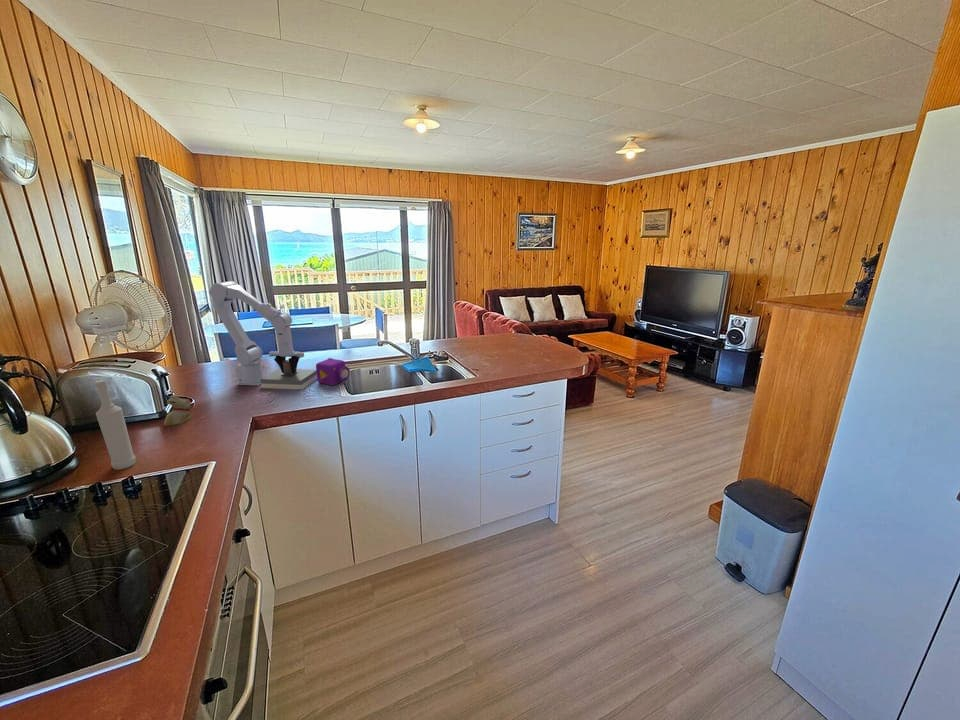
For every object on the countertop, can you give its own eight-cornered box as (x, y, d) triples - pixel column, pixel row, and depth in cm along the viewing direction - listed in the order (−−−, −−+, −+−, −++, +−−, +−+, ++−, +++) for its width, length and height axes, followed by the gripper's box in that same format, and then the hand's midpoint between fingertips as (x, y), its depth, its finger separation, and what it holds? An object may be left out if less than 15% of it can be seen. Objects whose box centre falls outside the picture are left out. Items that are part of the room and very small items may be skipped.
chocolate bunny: (192, 421, 137) (186, 395, 134) (163, 427, 133) (156, 399, 130) (193, 416, 141) (187, 389, 138) (165, 421, 137) (159, 394, 134)
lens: (282, 377, 171) (280, 362, 169) (287, 374, 175) (285, 359, 173) (291, 378, 171) (289, 362, 169) (296, 374, 175) (294, 359, 173)
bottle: (122, 460, 113) (97, 377, 106) (141, 459, 114) (118, 377, 106) (107, 470, 108) (80, 384, 101) (127, 469, 109) (102, 384, 101)
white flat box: (261, 387, 168) (260, 379, 167) (280, 376, 181) (278, 368, 180) (302, 389, 166) (301, 380, 165) (318, 378, 180) (317, 369, 179)
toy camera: (343, 387, 169) (341, 365, 166) (314, 385, 172) (311, 363, 169) (355, 379, 179) (353, 358, 176) (328, 377, 182) (326, 356, 179)
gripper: (263, 344, 165) (267, 375, 169) (296, 345, 164) (300, 376, 168) (272, 340, 172) (277, 369, 176) (304, 341, 171) (308, 370, 175)
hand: (289, 372), depth 172 cm, fingers closed on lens, 4 cm apart
